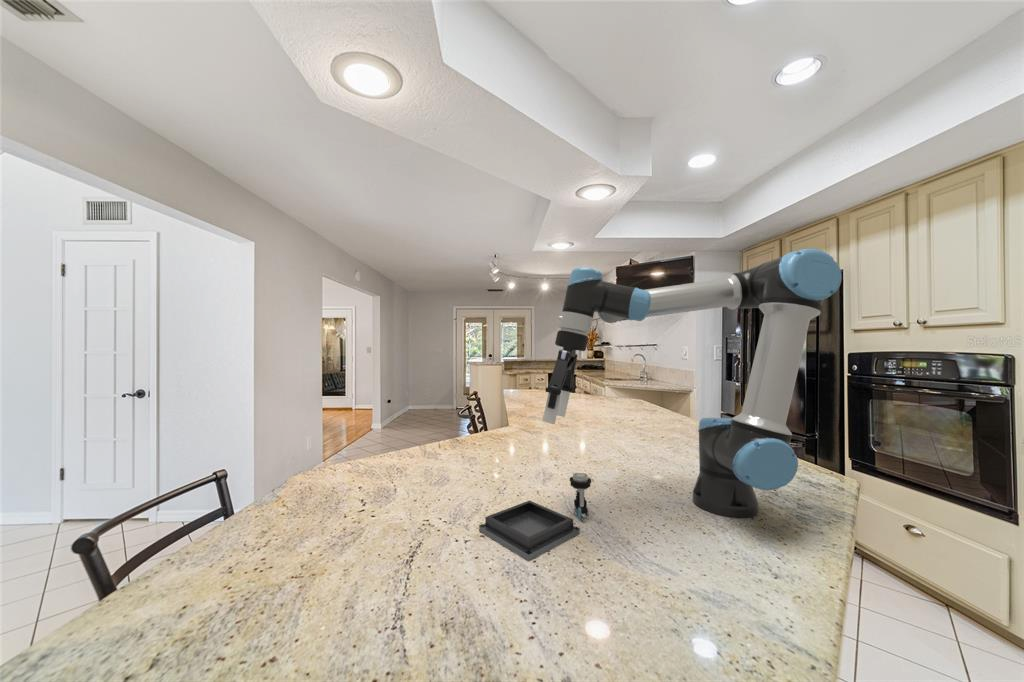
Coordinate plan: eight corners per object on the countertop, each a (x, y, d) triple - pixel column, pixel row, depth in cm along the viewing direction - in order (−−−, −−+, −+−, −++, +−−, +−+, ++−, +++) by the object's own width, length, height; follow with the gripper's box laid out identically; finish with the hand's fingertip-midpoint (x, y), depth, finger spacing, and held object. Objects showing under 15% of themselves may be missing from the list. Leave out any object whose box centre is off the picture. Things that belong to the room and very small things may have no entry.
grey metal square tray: (579, 533, 83) (579, 519, 83) (528, 561, 72) (528, 544, 72) (529, 510, 95) (529, 498, 95) (479, 531, 84) (479, 516, 84)
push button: (595, 523, 88) (595, 480, 88) (573, 523, 88) (572, 481, 88) (588, 511, 94) (588, 471, 95) (567, 511, 94) (567, 471, 94)
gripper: (566, 334, 102) (549, 409, 102) (547, 323, 78) (525, 421, 78) (593, 339, 100) (576, 416, 99) (582, 330, 76) (560, 431, 76)
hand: (554, 419), depth 89 cm, fingers open, 13 cm apart
